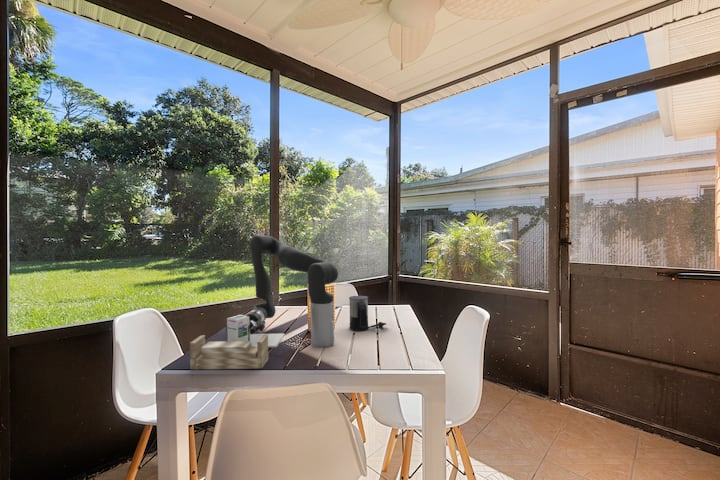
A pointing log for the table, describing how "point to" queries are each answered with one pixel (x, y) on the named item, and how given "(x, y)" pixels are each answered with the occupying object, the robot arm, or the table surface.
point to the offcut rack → (228, 354)
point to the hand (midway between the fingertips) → (239, 331)
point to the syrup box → (238, 328)
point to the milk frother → (360, 314)
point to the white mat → (272, 339)
